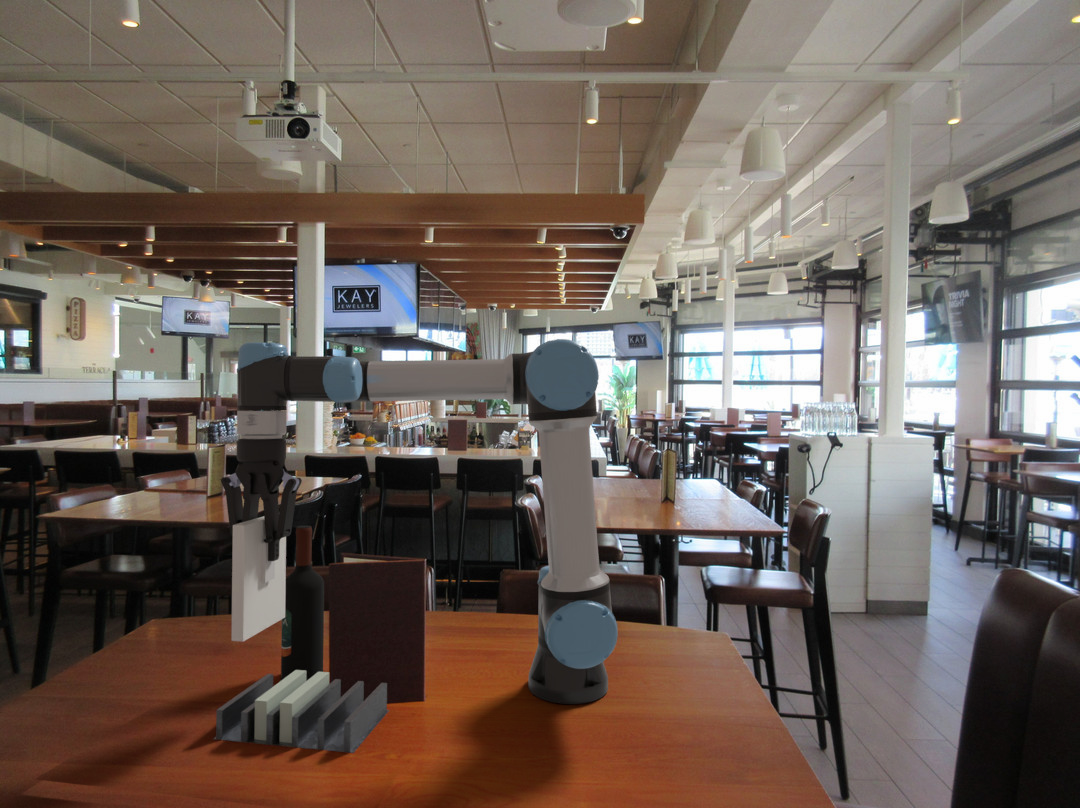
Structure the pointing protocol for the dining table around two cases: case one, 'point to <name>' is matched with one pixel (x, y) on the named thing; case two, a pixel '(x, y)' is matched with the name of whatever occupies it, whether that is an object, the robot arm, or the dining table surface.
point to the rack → (307, 717)
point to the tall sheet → (255, 582)
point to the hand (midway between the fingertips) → (260, 579)
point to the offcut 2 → (299, 702)
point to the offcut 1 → (275, 700)
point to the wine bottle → (303, 613)
